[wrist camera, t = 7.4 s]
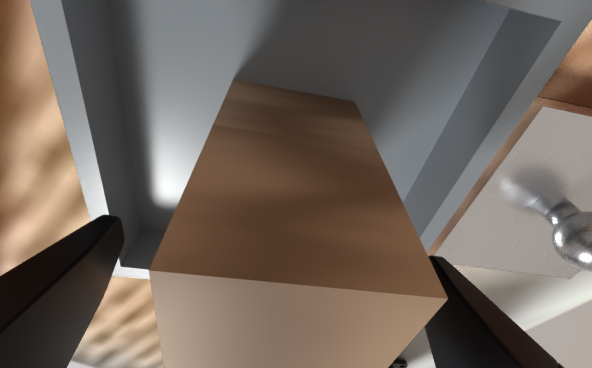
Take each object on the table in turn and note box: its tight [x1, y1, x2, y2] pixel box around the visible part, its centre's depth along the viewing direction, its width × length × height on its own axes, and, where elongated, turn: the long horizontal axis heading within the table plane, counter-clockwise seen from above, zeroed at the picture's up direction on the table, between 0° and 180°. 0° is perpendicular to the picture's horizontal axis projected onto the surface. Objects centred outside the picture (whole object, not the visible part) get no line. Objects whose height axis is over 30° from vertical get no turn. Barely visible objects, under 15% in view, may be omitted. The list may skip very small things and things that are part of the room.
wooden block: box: [149, 79, 448, 368], centre depth 10 cm, size 5×5×9 cm
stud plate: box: [427, 97, 592, 279], centre depth 15 cm, size 10×10×5 cm
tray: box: [30, 0, 592, 279], centre depth 13 cm, size 15×15×4 cm
